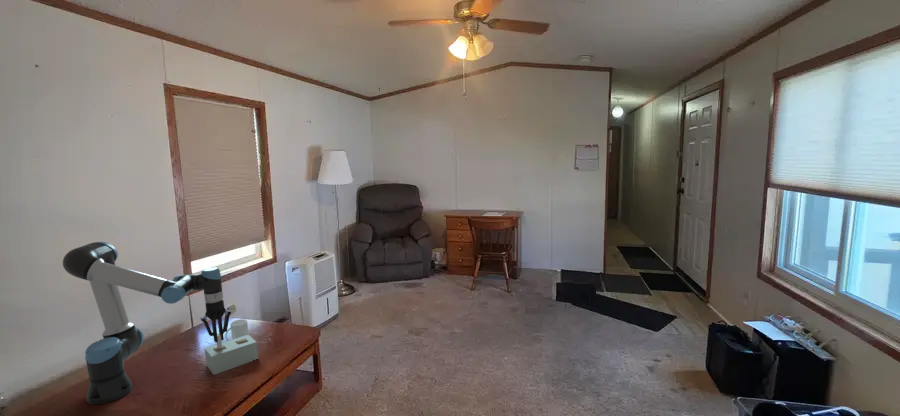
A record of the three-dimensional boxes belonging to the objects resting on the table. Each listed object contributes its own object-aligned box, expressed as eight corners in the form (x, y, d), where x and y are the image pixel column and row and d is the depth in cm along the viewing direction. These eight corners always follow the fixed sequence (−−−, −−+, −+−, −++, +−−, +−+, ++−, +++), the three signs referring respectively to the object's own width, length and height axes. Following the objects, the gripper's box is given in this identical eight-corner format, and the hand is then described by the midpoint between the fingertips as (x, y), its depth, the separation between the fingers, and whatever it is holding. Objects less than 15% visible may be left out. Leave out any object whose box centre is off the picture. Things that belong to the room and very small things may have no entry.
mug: (229, 350, 212) (227, 329, 210) (223, 346, 218) (220, 325, 216) (252, 342, 221) (250, 321, 219) (245, 338, 226) (243, 317, 225)
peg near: (218, 366, 194) (216, 350, 193) (215, 363, 197) (213, 347, 195) (227, 363, 196) (225, 347, 195) (224, 360, 199) (222, 345, 198)
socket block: (213, 374, 189) (211, 356, 188) (206, 365, 198) (204, 348, 196) (258, 358, 203) (256, 341, 202) (250, 350, 211) (248, 334, 210)
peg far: (240, 358, 201) (238, 343, 200) (237, 355, 203) (236, 340, 202) (249, 355, 203) (247, 340, 202) (246, 353, 206) (244, 338, 205)
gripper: (200, 306, 185) (206, 355, 188) (231, 298, 194) (236, 345, 197) (196, 302, 190) (202, 349, 194) (226, 295, 199) (232, 340, 203)
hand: (219, 347), depth 195 cm, fingers closed
